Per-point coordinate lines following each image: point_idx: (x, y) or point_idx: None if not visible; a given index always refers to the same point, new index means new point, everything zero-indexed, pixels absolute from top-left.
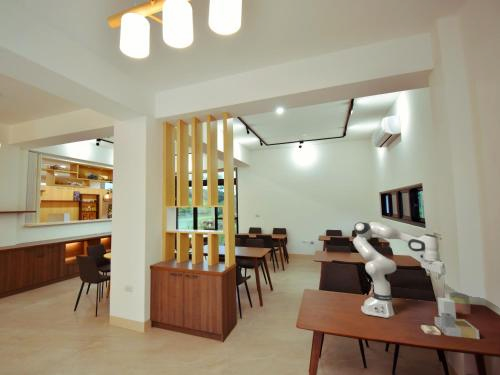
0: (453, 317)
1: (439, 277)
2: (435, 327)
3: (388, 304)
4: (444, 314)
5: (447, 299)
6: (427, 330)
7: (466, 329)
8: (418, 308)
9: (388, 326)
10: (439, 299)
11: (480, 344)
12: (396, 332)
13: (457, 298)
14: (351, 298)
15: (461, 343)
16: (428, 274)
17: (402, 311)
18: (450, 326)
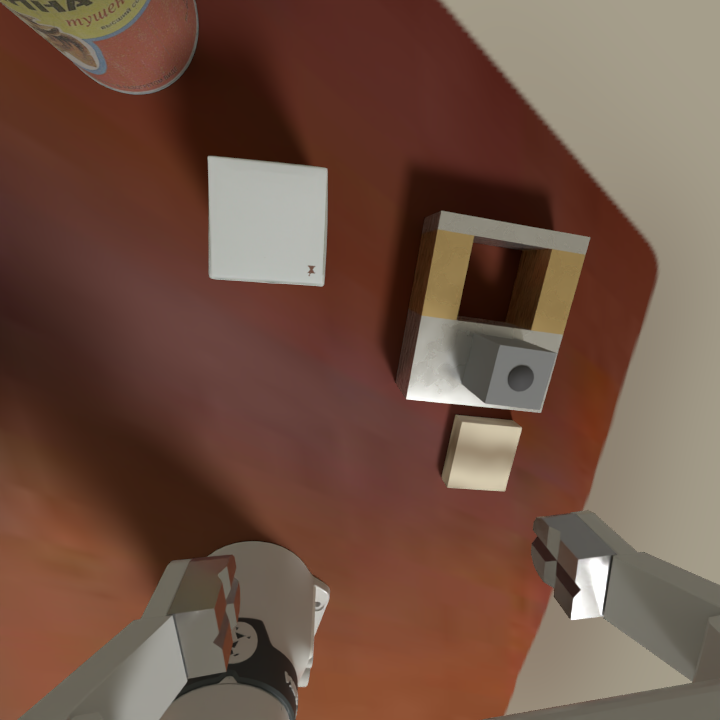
0: (551, 359)
1: (627, 562)
2: (475, 427)
3: (301, 641)
4: (514, 399)
5: (265, 205)
6: (506, 483)
7: (570, 305)
8: (139, 356)
9: (429, 612)
10: (252, 281)
11: (602, 280)
12: (484, 597)
13: None
14: None
15: (586, 369)
16: (227, 627)
17: (223, 486)
18: None
